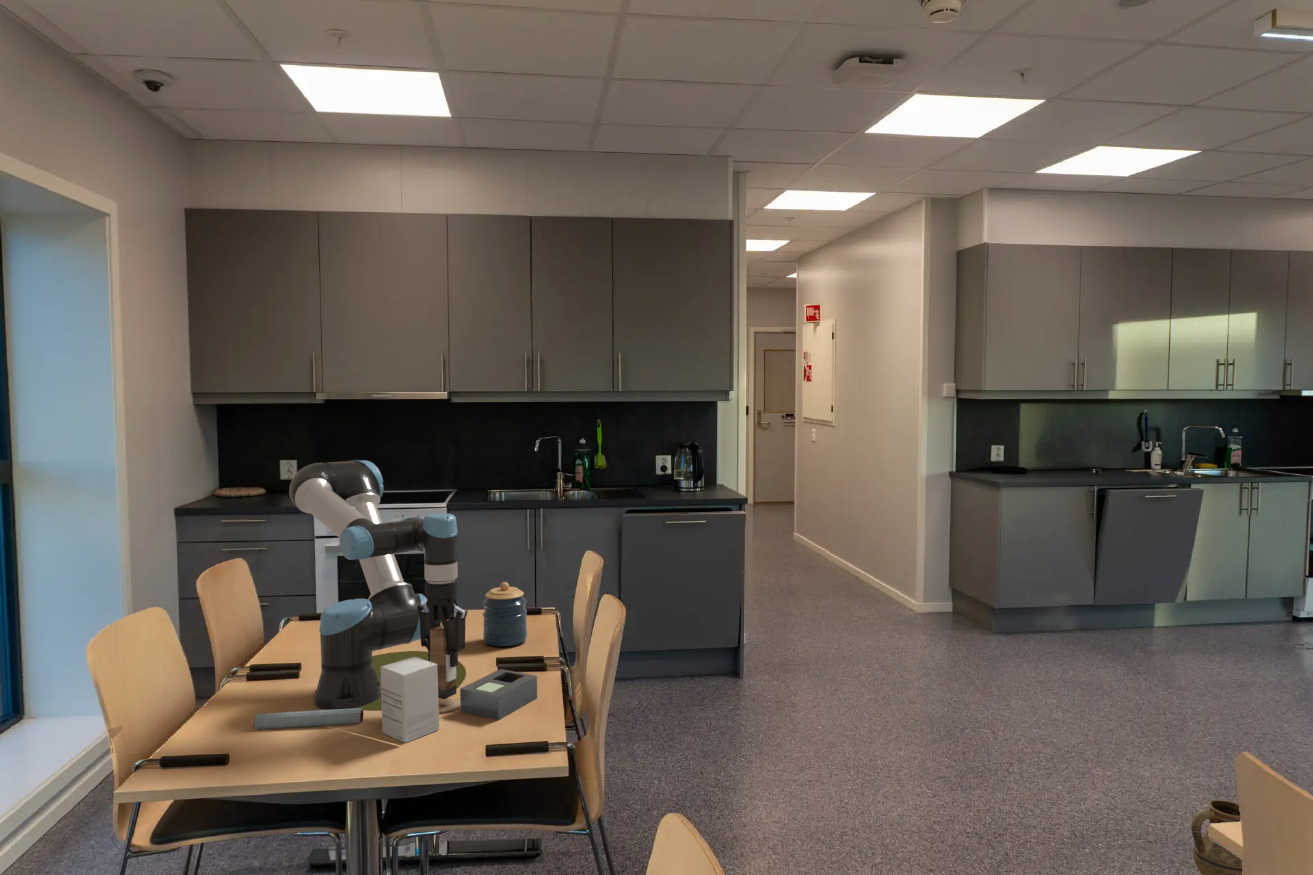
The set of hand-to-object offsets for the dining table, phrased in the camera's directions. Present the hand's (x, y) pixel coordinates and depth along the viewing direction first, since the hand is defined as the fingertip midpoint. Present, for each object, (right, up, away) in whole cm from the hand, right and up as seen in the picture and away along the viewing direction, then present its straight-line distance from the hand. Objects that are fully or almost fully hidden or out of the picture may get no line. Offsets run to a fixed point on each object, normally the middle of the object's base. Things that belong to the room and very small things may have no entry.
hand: (443, 677), depth 192 cm
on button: (+11, -4, -2) cm, 12 cm away
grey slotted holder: (+13, -7, +2) cm, 15 cm away
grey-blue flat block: (-28, -8, -8) cm, 30 cm away
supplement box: (-4, -8, -13) cm, 16 cm away
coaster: (0, -7, +1) cm, 7 cm away
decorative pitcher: (+224, -81, +57) cm, 245 cm away
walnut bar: (0, -4, 0) cm, 4 cm away
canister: (+5, -4, +52) cm, 52 cm away
